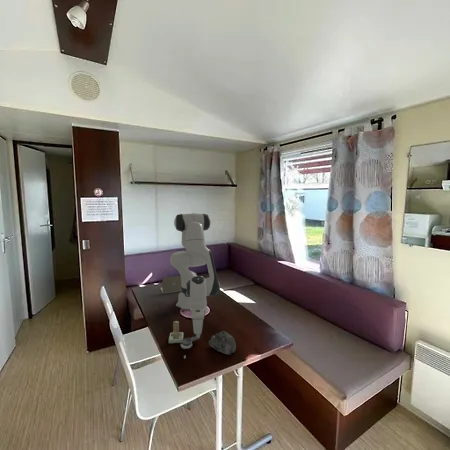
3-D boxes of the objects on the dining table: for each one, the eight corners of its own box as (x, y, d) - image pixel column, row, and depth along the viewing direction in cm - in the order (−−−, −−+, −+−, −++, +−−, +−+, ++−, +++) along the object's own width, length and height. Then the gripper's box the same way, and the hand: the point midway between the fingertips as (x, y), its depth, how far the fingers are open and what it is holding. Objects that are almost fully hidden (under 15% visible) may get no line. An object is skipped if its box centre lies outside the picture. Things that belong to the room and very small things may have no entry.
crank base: (181, 342, 135) (181, 340, 135) (192, 342, 136) (192, 340, 135) (178, 358, 122) (178, 356, 122) (191, 358, 122) (190, 356, 122)
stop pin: (173, 336, 139) (173, 321, 138) (179, 336, 140) (179, 321, 139) (173, 339, 136) (172, 323, 135) (178, 339, 137) (178, 323, 136)
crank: (184, 346, 129) (184, 335, 129) (180, 342, 133) (180, 332, 132) (202, 340, 135) (202, 330, 134) (198, 336, 139) (198, 326, 138)
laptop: (181, 285, 221) (181, 271, 219) (184, 290, 209) (184, 275, 208) (160, 288, 214) (159, 273, 212) (162, 294, 202) (162, 278, 201)
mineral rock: (207, 345, 133) (207, 327, 132) (225, 339, 138) (225, 322, 137) (219, 359, 122) (219, 339, 120) (238, 352, 127) (238, 333, 126)
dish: (170, 336, 141) (170, 332, 141) (183, 335, 142) (183, 332, 141) (168, 343, 134) (168, 339, 134) (182, 342, 135) (182, 339, 135)
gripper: (193, 300, 144) (193, 323, 146) (191, 317, 124) (191, 344, 126) (204, 299, 145) (204, 323, 146) (204, 316, 124) (204, 343, 126)
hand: (198, 333), depth 136 cm, fingers open, 6 cm apart
